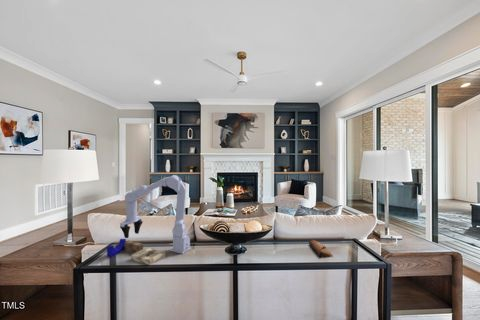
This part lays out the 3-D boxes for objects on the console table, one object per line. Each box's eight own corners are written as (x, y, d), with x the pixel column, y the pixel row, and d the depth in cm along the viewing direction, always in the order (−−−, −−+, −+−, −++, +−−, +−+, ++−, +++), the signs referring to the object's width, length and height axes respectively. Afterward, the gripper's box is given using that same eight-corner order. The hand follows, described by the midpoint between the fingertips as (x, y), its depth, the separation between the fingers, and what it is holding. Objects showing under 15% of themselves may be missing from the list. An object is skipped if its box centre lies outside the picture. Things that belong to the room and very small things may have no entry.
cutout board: (165, 256, 134) (165, 252, 134) (150, 265, 125) (150, 260, 124) (147, 251, 141) (147, 247, 140) (131, 259, 131) (131, 255, 131)
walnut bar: (143, 252, 140) (143, 243, 140) (138, 254, 138) (138, 245, 138) (128, 248, 146) (128, 240, 146) (124, 250, 143) (124, 242, 143)
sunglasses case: (334, 256, 133) (328, 246, 133) (323, 263, 133) (317, 253, 132) (322, 244, 151) (316, 235, 151) (312, 249, 151) (307, 241, 150)
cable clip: (119, 248, 146) (119, 238, 146) (126, 248, 145) (125, 238, 145) (104, 256, 135) (104, 246, 134) (111, 257, 134) (111, 246, 133)
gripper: (135, 208, 148) (135, 230, 149) (115, 214, 135) (116, 238, 135) (144, 210, 146) (145, 232, 146) (125, 216, 132) (125, 240, 133)
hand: (131, 235), depth 141 cm, fingers open, 7 cm apart
